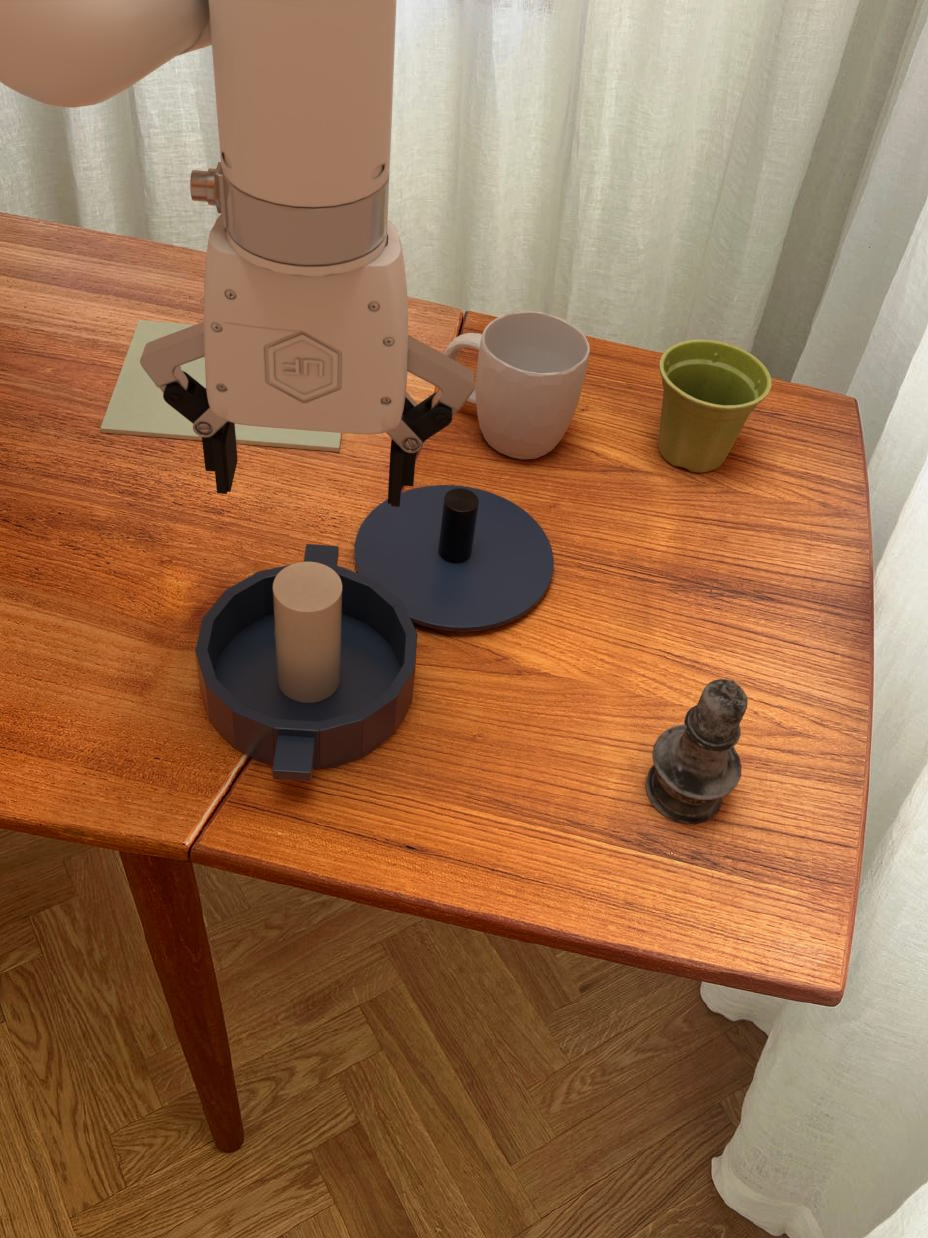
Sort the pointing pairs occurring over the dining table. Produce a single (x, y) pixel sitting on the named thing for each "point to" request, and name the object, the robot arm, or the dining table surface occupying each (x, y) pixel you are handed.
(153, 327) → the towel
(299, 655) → the beige tall cylinder
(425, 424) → the robot arm
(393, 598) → the pot
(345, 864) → the dining table surface
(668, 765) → the dark grey chess piece
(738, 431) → the plant pot
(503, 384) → the mug
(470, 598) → the pot lid
